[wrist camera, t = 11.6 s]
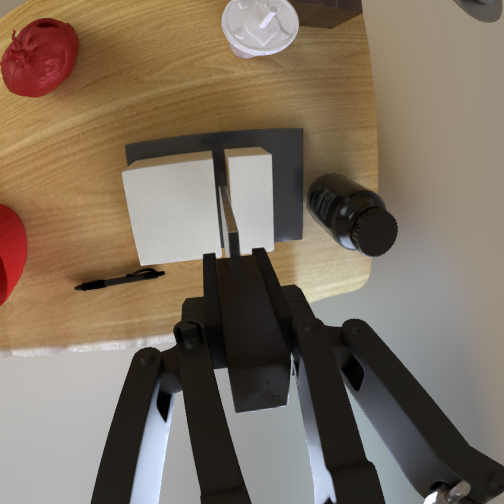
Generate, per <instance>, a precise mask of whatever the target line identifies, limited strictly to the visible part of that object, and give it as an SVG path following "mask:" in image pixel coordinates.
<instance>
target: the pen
mask: <svg viewBox="0 0 504 504" xmlns="http://www.w3.org/2000/svg"><path fill="white" fill-rule="evenodd" d="M144 271H151V272H146V273H142V274H137V273H140V272H144ZM135 274H136V275H135ZM163 275H165V272H164V271H159V272H158V271H156V270H155V269H152V268H144V269H140V270H138V271H135V272H133V273H132V274H127V275H126V276H125V277H119V278H114V279H108V280H97V281H93V282H88V283H83V284H81V285H78V286H76V287H74V289H75V290H83V291H86V290H92V289H100V288H104V287H107V286H112V285H118V284H124V283H130V282H136V281H141V280H149V279H155V278H158V277H159V276H163Z"/></svg>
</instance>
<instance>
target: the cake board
mask: <svg viewBox="0 0 504 504" xmlns="http://www.w3.org/2000/svg"><path fill="white" fill-rule="evenodd" d="M249 147H261V148H263V149H264V150H265V151H267V152H268V153H270V154H271V155H272V183H273V225H274V242H282V241H291V240H301V239H302V234H303V128H265V129H246V130H231V131H219V132H208V133H199V134H190V135H182V136H174V137H167V138H160V139H154V140H147V141H141V142H136V143H130V144H126V145H125V149H126V156H127V163H128V166H130V165H131V164H132V163H134V162H135V161H137V160H143V159H150V158H156V157H163V156H170V155H178V154H186V153H194V152H203V151H212V158H213V168H214V180H215V191H216V202H217V213H218V223H219V233H220V242H221V248H224V237H223V227H222V216H221V205H220V194H219V186H226V188H227V180H226V166H225V152H224V150H225V149H235V148H249Z"/></svg>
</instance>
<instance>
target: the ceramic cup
mask: <svg viewBox="0 0 504 504" xmlns="http://www.w3.org/2000/svg"><path fill="white" fill-rule="evenodd" d="M26 257H27V238H26V232H25V228H24V225H23V223H22V221H21V219H20V217H19V216H18V215H17V214H16V213H15V212H14V211H12V210H11V209H10V208H9V207H7V206H5V205H3V204H0V306H1V305H2V304H3V303H4V302H5V301H6V300H7V298H8V297H9V295H10V294H11V292H12V291H13V289H14V287H15V285H16V284H17V282H18V280H19V278H20V276H21V274H22V272H23V269H24V266H25V262H26Z"/></svg>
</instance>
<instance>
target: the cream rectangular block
mask: <svg viewBox="0 0 504 504" xmlns="http://www.w3.org/2000/svg"><path fill="white" fill-rule="evenodd" d="M224 152H225V166H226V180H227V192H228V195H229V199H230V203H231V206H232V210H233V213H234V217H235V220H236V224H237V227H238V231H239V242H240V255H242V254H251V253H252V248H260V247H264V248H265V250H266V252H268V251H274V225H273V183H272V155H271V154H270V153H268V152H267V151H265V150H264V149H263V148H261V147H249V148H235V149H225V150H224Z"/></svg>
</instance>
